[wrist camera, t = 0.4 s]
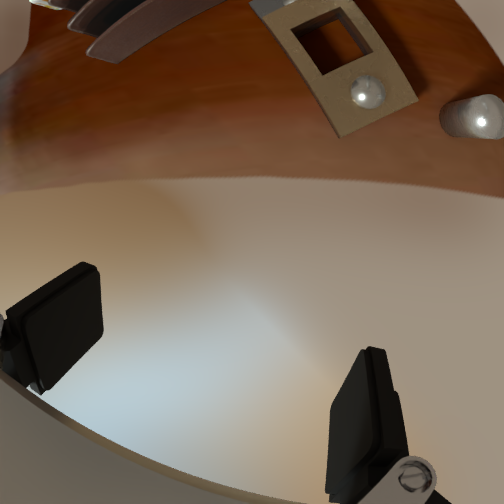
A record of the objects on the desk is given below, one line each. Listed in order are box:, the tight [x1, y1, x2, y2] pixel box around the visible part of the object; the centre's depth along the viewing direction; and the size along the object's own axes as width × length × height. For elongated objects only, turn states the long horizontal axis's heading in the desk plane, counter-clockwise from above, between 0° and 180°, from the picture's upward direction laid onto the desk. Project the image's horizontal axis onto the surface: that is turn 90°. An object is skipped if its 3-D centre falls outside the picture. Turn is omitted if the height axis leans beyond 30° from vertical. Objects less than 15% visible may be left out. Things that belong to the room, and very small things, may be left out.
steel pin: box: [439, 94, 504, 139], centre depth 25 cm, size 4×4×10 cm
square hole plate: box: [249, 0, 419, 138], centre depth 27 cm, size 20×10×5 cm, turn 30°
